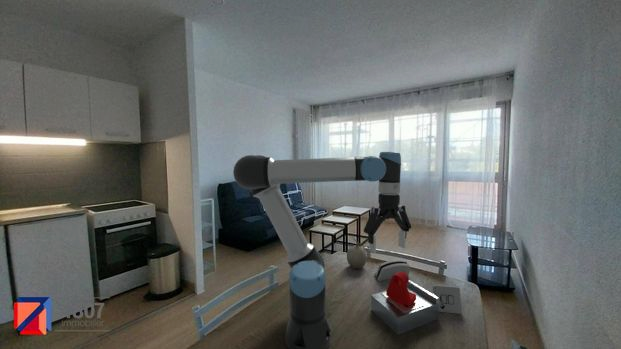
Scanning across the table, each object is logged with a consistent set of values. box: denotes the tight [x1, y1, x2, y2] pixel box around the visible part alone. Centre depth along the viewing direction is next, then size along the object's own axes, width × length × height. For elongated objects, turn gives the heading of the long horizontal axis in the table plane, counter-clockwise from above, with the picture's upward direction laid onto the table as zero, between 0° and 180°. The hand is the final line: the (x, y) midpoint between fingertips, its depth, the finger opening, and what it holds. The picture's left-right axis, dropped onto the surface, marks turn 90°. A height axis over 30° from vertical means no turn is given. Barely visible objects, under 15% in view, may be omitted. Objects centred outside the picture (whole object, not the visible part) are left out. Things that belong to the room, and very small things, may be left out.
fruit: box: [346, 236, 369, 270], centre depth 124 cm, size 10×12×15 cm
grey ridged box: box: [370, 279, 440, 336], centre depth 86 cm, size 19×14×8 cm
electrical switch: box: [432, 284, 463, 315], centre depth 89 cm, size 9×5×9 cm, turn 78°
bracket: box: [385, 272, 416, 306], centre depth 85 cm, size 9×6×10 cm
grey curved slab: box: [373, 259, 411, 282], centre depth 114 cm, size 17×5×10 cm, turn 104°
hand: (387, 249), depth 87 cm, fingers open, 13 cm apart
